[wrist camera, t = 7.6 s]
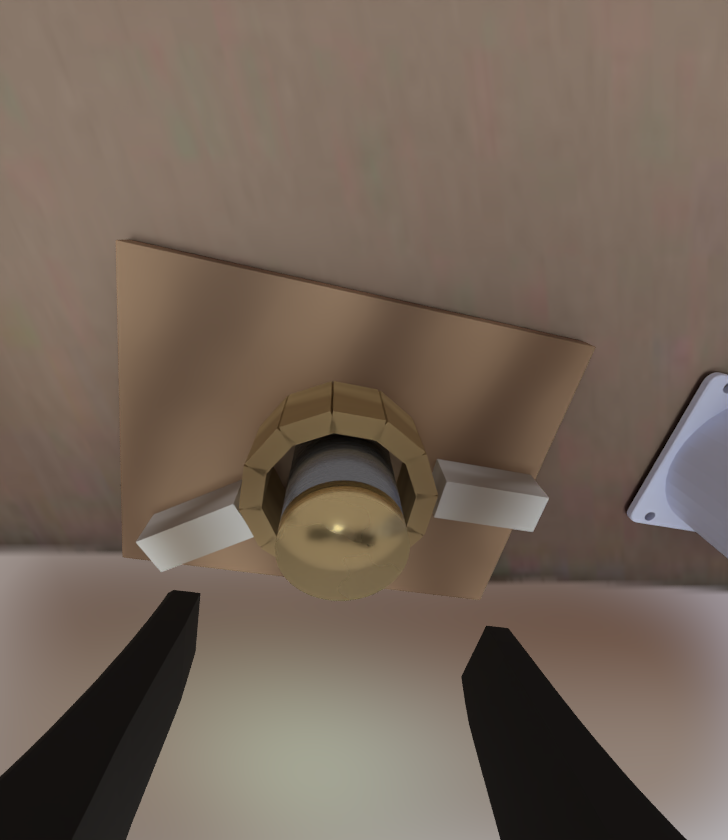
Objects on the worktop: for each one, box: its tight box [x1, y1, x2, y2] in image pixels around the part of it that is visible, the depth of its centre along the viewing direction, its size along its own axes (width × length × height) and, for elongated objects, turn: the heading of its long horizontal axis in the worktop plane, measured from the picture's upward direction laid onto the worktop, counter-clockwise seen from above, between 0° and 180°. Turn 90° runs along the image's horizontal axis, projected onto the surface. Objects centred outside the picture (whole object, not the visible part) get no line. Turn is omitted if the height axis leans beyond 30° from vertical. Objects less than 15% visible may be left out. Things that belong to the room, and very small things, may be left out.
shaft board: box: [116, 240, 595, 600], centre depth 17 cm, size 18×14×4 cm
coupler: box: [275, 433, 410, 601], centre depth 15 cm, size 4×4×6 cm
